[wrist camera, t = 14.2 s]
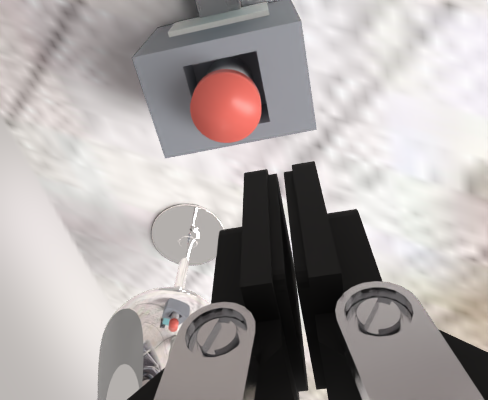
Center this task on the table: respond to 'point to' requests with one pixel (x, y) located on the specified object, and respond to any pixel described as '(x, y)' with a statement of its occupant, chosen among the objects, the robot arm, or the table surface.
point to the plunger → (226, 102)
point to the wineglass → (157, 305)
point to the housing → (221, 46)
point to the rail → (216, 6)
